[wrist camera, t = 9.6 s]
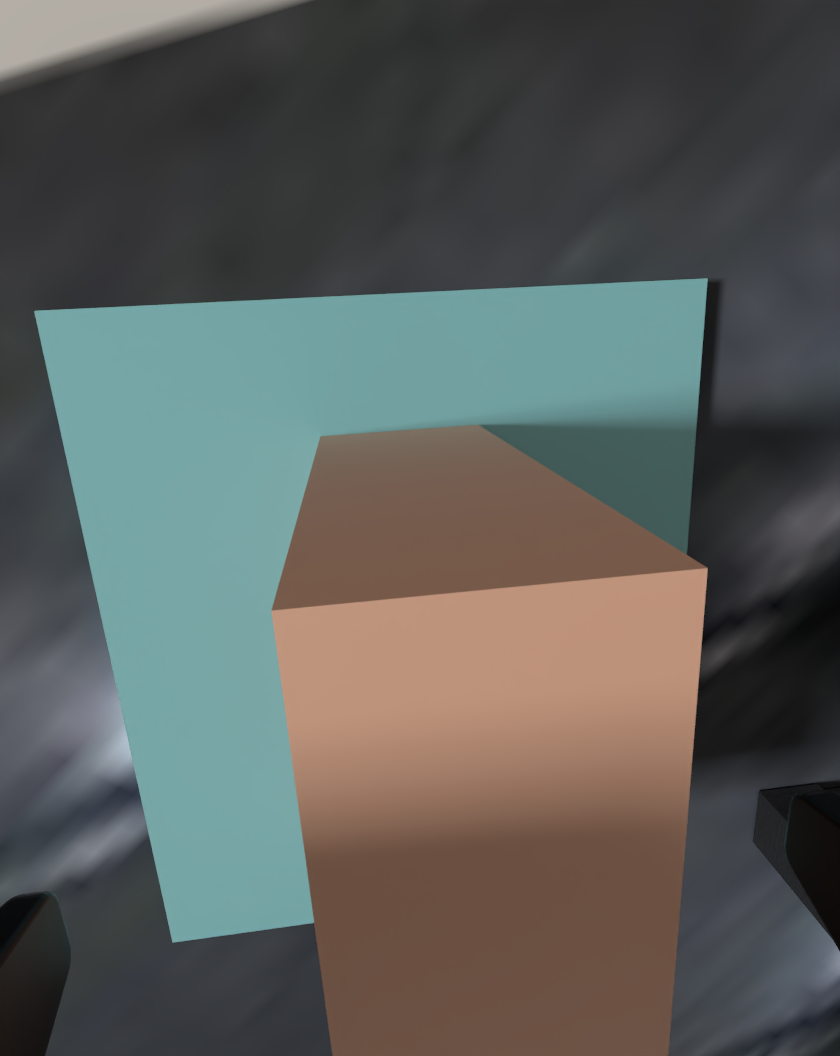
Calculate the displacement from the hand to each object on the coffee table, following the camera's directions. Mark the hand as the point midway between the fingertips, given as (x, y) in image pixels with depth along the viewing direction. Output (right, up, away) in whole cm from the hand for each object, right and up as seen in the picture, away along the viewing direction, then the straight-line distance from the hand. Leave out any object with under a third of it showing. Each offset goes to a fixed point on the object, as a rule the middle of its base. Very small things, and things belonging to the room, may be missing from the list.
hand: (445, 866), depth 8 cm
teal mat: (-1, +2, +6) cm, 6 cm away
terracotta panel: (0, +2, +6) cm, 6 cm away
